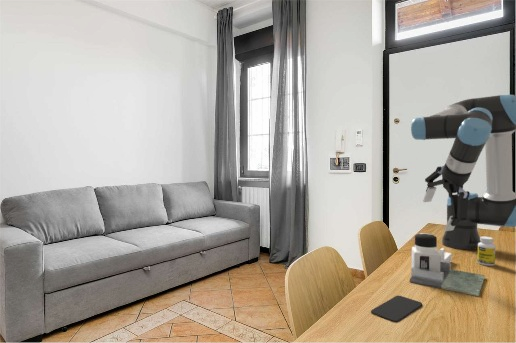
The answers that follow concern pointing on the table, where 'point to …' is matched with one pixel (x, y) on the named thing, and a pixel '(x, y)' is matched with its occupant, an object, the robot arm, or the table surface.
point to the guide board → (448, 279)
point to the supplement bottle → (486, 251)
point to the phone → (396, 308)
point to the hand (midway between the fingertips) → (437, 214)
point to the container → (426, 252)
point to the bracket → (445, 255)
